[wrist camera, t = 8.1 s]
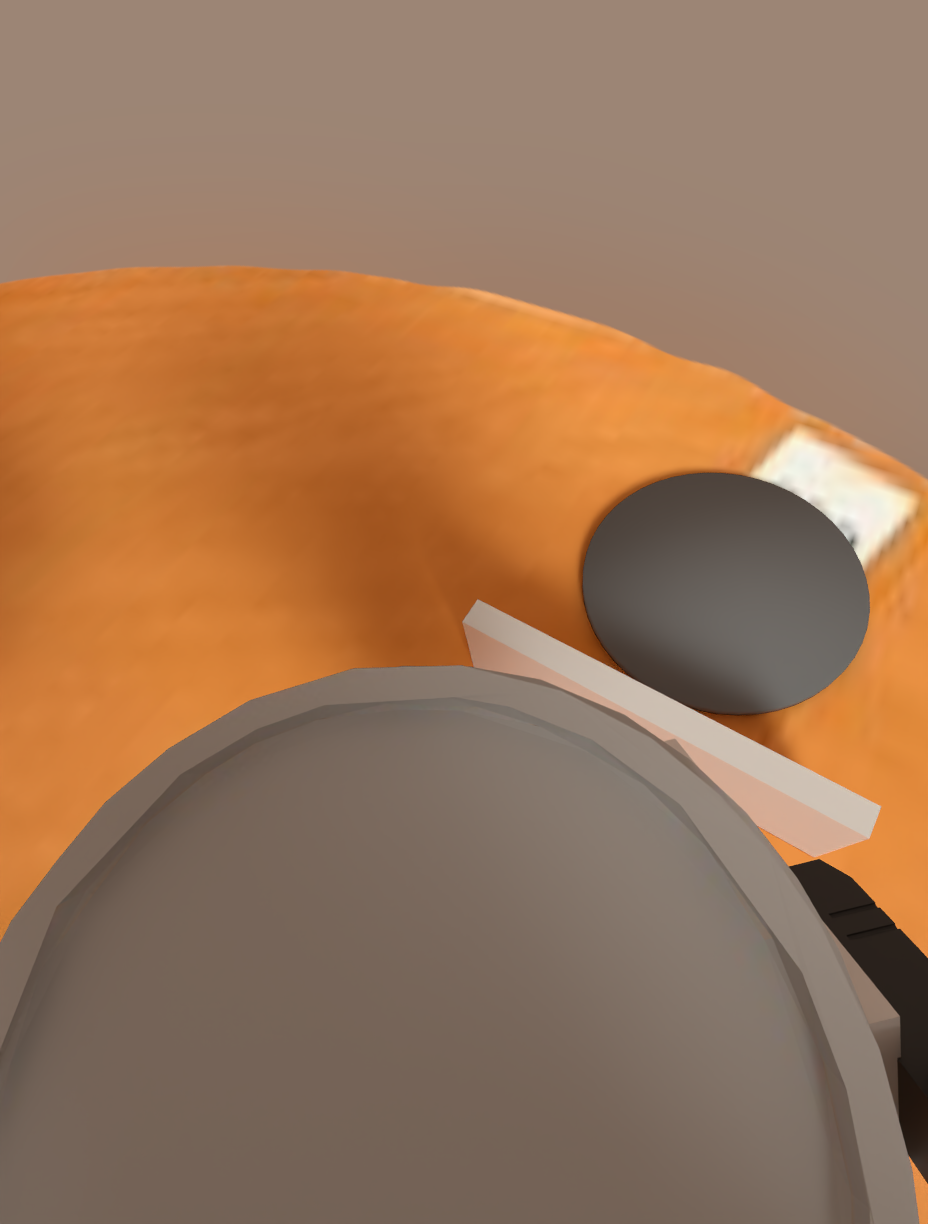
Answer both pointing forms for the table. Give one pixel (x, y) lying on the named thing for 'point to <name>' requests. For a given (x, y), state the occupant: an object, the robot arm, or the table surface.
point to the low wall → (684, 736)
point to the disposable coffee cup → (434, 983)
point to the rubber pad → (725, 593)
